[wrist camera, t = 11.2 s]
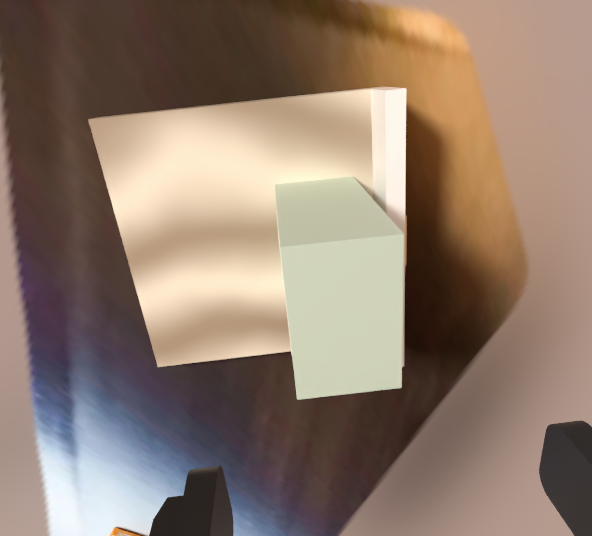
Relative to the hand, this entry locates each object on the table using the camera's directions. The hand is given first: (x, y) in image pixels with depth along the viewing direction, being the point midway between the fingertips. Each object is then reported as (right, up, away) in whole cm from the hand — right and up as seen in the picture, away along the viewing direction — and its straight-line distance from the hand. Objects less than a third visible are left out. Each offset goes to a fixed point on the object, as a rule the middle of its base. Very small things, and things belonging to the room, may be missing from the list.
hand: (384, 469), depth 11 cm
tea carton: (-1, +7, +15) cm, 17 cm away
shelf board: (-4, +7, +17) cm, 19 cm away
